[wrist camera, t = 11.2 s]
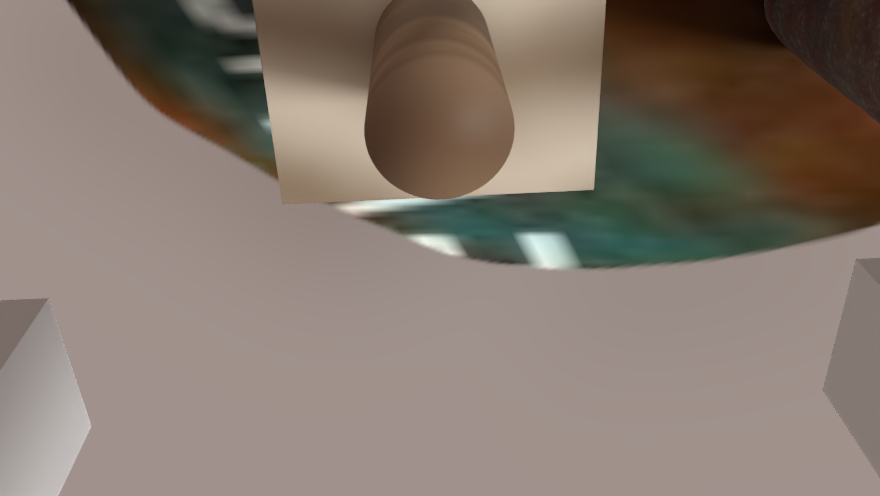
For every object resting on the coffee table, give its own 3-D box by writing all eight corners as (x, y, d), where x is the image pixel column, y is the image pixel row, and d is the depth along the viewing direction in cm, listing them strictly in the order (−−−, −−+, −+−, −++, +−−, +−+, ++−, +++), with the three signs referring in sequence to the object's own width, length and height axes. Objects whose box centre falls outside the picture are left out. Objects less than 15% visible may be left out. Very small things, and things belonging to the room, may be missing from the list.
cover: (237, -142, 27) (167, -101, 19) (609, -158, 27) (691, -123, 19) (285, 192, 33) (247, 326, 25) (588, 178, 33) (644, 308, 25)
